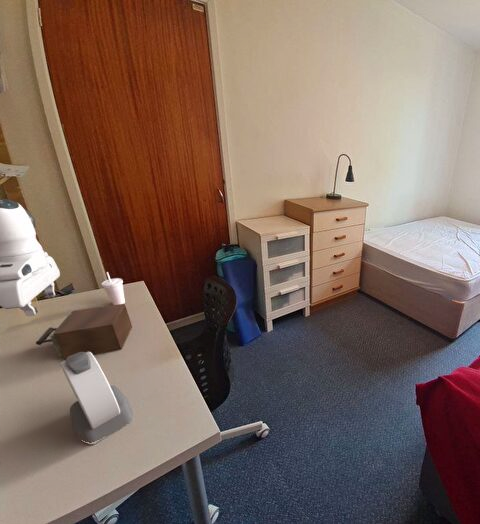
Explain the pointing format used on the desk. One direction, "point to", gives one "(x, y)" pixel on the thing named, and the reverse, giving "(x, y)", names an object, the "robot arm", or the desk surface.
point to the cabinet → (94, 330)
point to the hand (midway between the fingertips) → (42, 305)
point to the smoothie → (114, 290)
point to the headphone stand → (94, 399)
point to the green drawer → (46, 335)
